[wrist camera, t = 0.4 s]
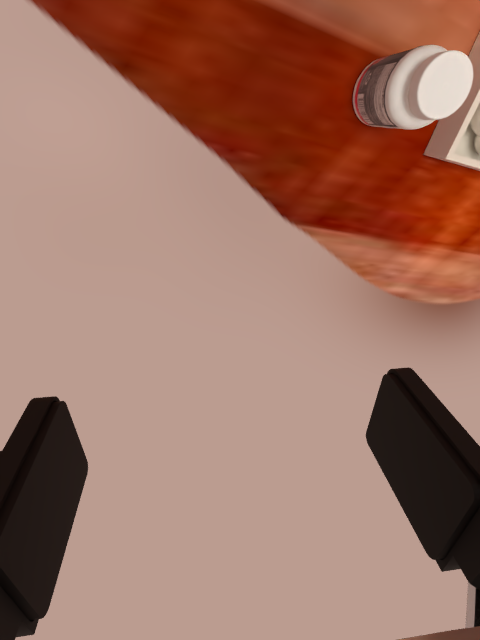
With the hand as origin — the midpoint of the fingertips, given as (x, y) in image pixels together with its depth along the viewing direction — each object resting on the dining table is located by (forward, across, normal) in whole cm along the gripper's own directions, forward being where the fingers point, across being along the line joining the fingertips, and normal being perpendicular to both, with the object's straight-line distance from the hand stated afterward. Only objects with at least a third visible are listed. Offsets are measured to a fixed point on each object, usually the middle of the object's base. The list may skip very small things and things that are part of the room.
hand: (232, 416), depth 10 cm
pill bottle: (+29, -17, -10) cm, 35 cm away
